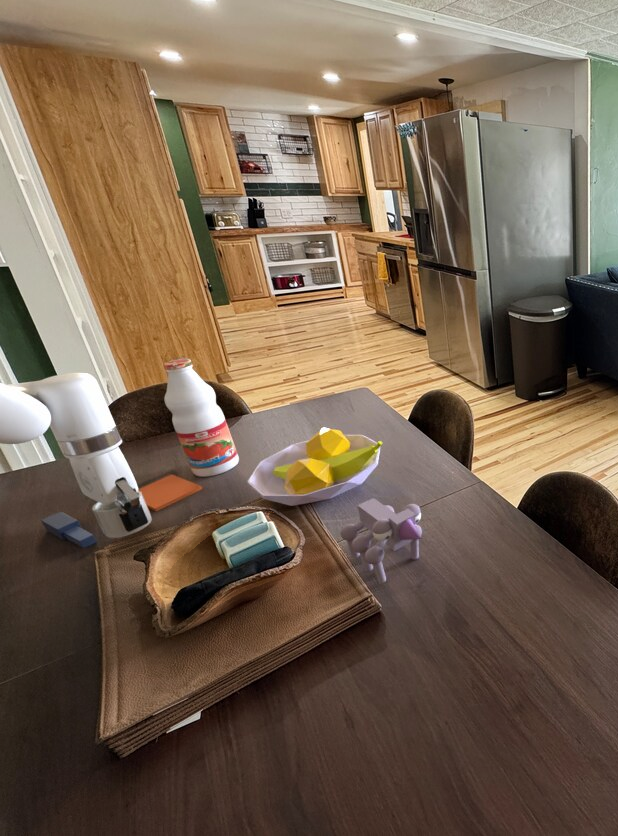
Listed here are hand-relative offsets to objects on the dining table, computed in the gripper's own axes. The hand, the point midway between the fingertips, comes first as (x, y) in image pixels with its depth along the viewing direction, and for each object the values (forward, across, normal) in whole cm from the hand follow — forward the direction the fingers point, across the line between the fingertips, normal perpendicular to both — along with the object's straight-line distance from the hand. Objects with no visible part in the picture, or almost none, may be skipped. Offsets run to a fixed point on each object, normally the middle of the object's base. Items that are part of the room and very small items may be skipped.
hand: (126, 521), depth 92 cm
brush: (+5, -13, -4) cm, 14 cm away
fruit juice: (+4, -14, +23) cm, 27 cm away
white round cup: (+1, 0, 0) cm, 1 cm away
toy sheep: (+4, +53, +16) cm, 56 cm away
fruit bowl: (+4, +18, +29) cm, 34 cm away
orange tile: (+4, -13, +11) cm, 18 cm away
